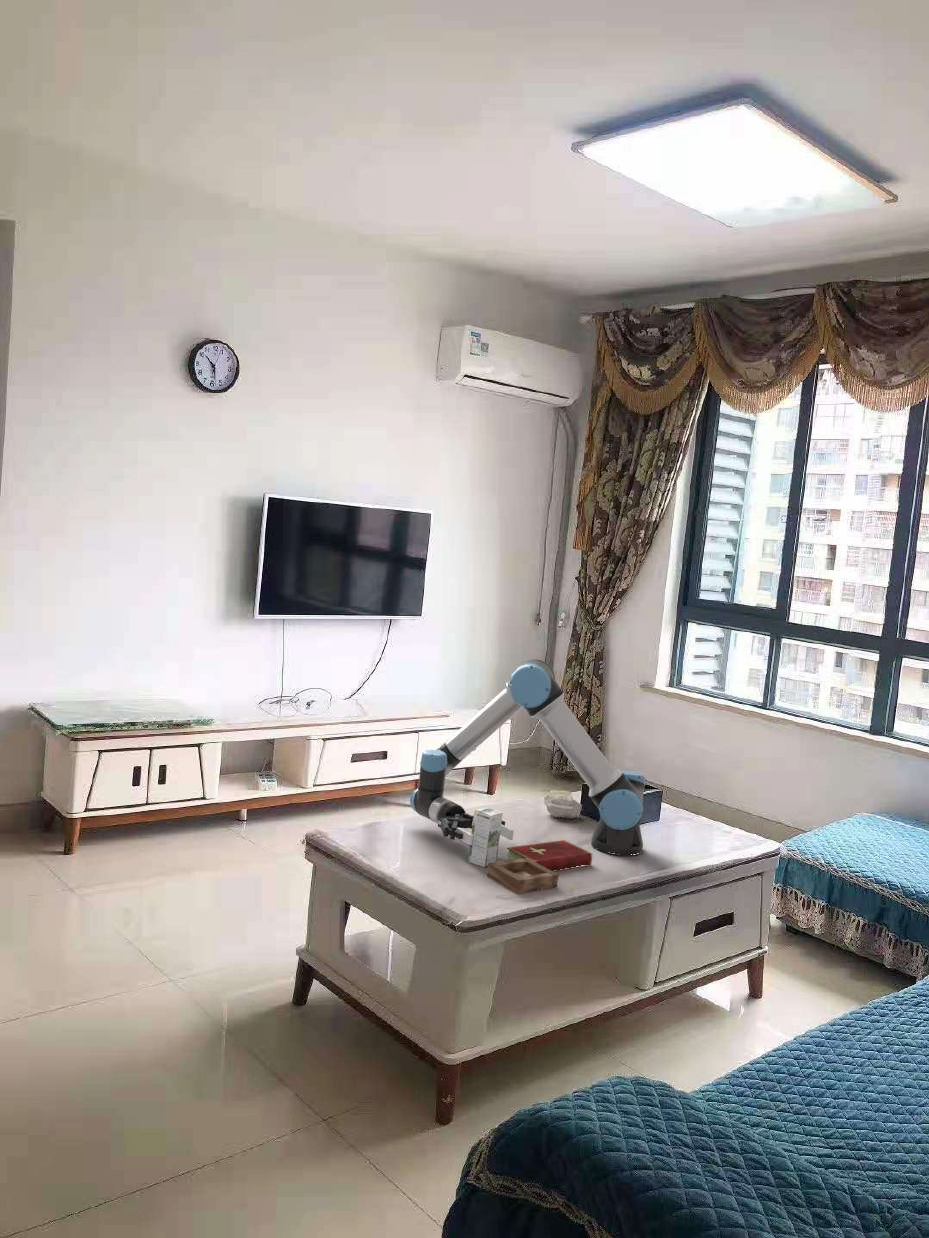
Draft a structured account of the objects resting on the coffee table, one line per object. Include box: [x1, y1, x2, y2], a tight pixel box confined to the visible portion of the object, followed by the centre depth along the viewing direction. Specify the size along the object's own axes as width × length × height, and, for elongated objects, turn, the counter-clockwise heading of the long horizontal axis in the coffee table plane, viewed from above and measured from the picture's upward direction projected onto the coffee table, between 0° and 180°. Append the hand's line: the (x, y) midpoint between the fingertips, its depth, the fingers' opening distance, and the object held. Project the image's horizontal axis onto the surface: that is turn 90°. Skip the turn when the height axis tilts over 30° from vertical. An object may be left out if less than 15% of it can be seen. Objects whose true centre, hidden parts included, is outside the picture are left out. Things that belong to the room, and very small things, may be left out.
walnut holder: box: [486, 858, 560, 895], centre depth 265 cm, size 13×13×4 cm
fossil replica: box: [543, 789, 583, 819], centre depth 330 cm, size 12×8×10 cm
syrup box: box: [467, 806, 503, 868], centre depth 276 cm, size 6×6×14 cm
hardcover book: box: [506, 839, 593, 872], centre depth 283 cm, size 12×21×4 cm, turn 126°
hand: (492, 837), depth 274 cm, fingers open, 13 cm apart
